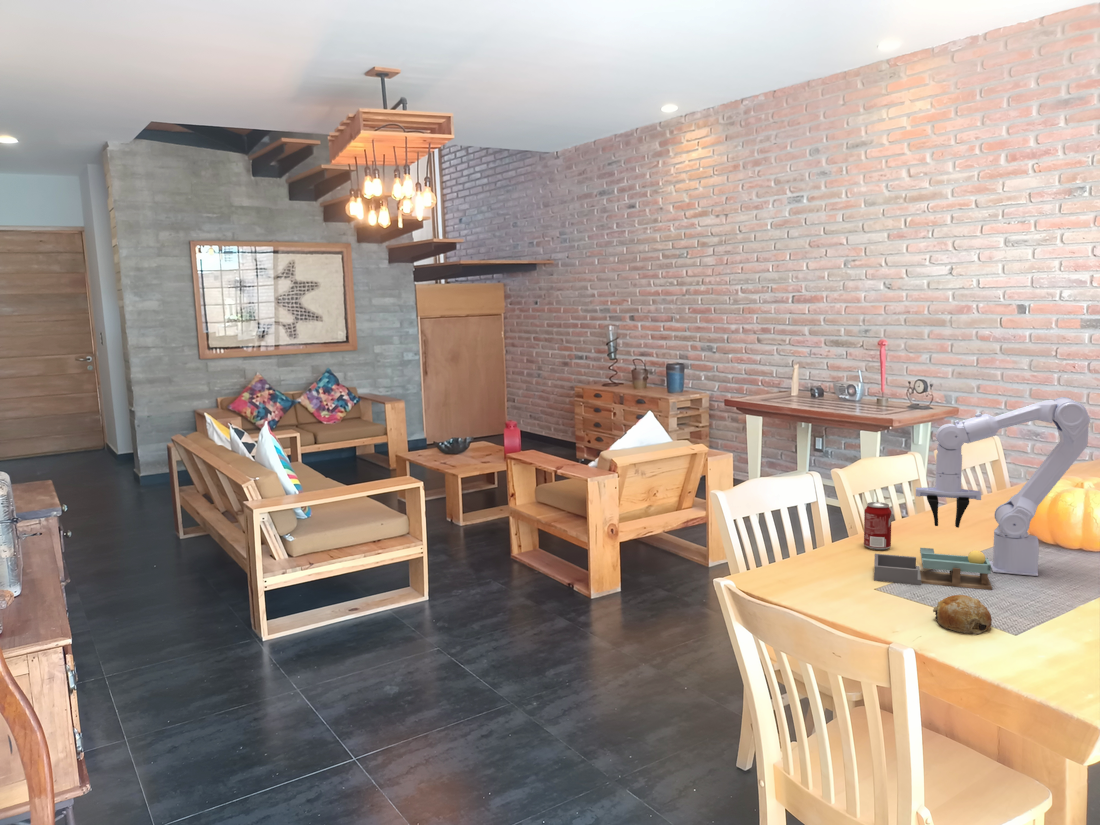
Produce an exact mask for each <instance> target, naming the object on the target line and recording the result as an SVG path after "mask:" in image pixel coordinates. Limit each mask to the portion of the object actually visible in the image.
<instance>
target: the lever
mask: <svg viewBox="0 0 1100 825" xmlns="http://www.w3.org/2000/svg"><path fill="white" fill-rule="evenodd" d="M919 553H920V558H921V563H922V564H921V565H922V569H928V570H939V571H949V572H950V571H953V568H960V569H961V573H962V572H963V573H964V572H965V573H973V574H974V573H975V574H980V573H984V574H988V575H991V574H992V573H991V571H992V568H991V565H990V562H989V561H990V559H988V557H985V562H984V564H975V563H970V562H969V560H968V555H967V556H966V555H956V554H955V555H954V554H942V553H935V551H934V548H931V547H919Z"/></svg>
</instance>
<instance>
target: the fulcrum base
mask: <svg viewBox="0 0 1100 825" xmlns="http://www.w3.org/2000/svg"><path fill="white" fill-rule="evenodd" d="M920 575H921V584H924V585H927V584H928V585H933V586H934V585H935V586H936V585H937V586H946V587H957V588H968V589H979V590H990V591H992V590H993V587H992V586H993V585H992V584H991V581H990V578H989V574H984V573H979V575H977V574H975V575H974V574H965V573H962V572H961V569H960V568H953V571H950V570H949V572H942V571H931V570H921V569H920Z"/></svg>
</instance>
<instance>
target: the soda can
mask: <svg viewBox="0 0 1100 825" xmlns="http://www.w3.org/2000/svg"><path fill="white" fill-rule="evenodd" d="M866 504H867V505H866V507H865V508H864V511H863V512H864V514H863V516H864V520H863V522H864V523H863V532H864V533H863V546H865V547H867V548H868V549H870V550H873V551H887V549H889V548H891V546H892V516H893V514H892V510H891V508H890V504H889V503H887V502H880V501H879V502H878V501H870V502H867V503H866Z"/></svg>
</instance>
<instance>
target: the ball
mask: <svg viewBox="0 0 1100 825" xmlns="http://www.w3.org/2000/svg"><path fill="white" fill-rule="evenodd" d="M967 556H968V560H969V562H970V563H975V564H984V562H985V558H986V555H985V553H983V552H982V551H980V550H977V549H976V550H975V549H974V550H972V551H970V552H969V553H968V555H967Z"/></svg>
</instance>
